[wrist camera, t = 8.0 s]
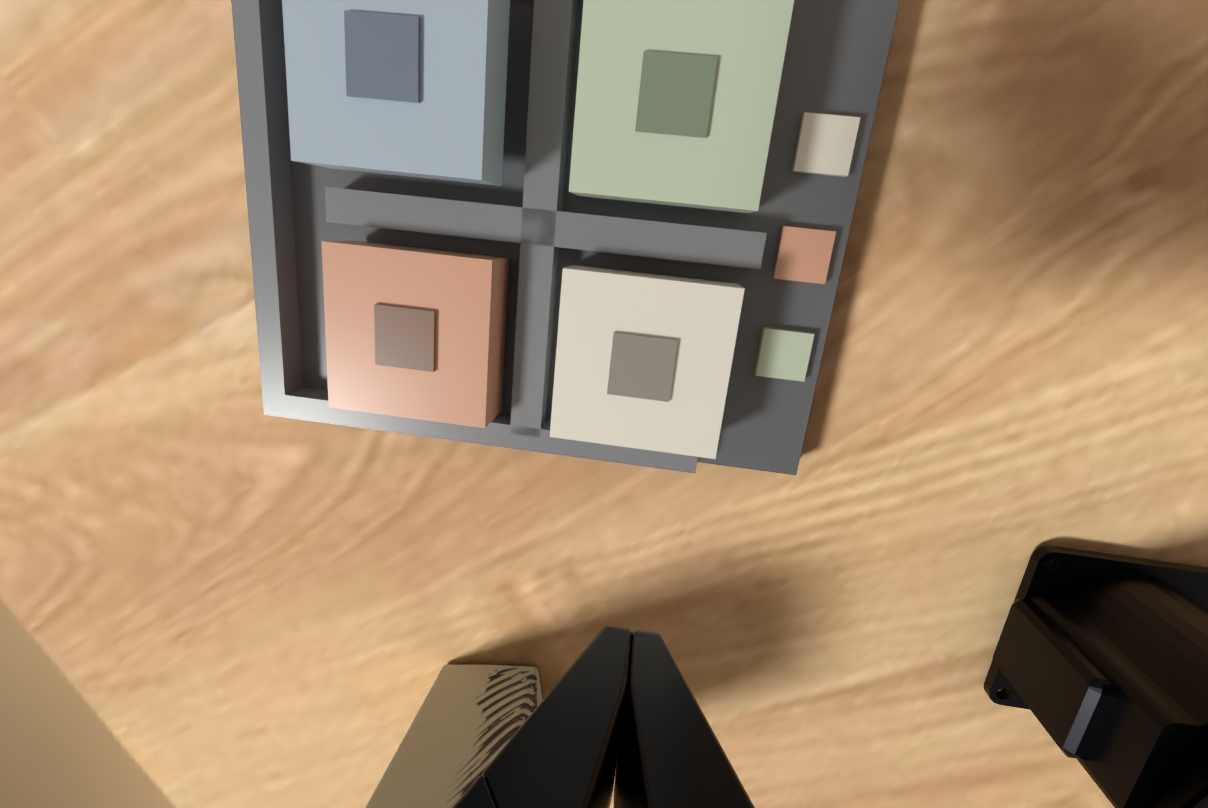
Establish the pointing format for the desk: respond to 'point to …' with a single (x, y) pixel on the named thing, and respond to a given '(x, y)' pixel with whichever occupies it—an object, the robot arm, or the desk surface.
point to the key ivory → (643, 359)
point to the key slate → (398, 86)
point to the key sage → (677, 100)
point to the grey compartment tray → (576, 230)
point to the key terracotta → (415, 331)
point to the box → (457, 734)
